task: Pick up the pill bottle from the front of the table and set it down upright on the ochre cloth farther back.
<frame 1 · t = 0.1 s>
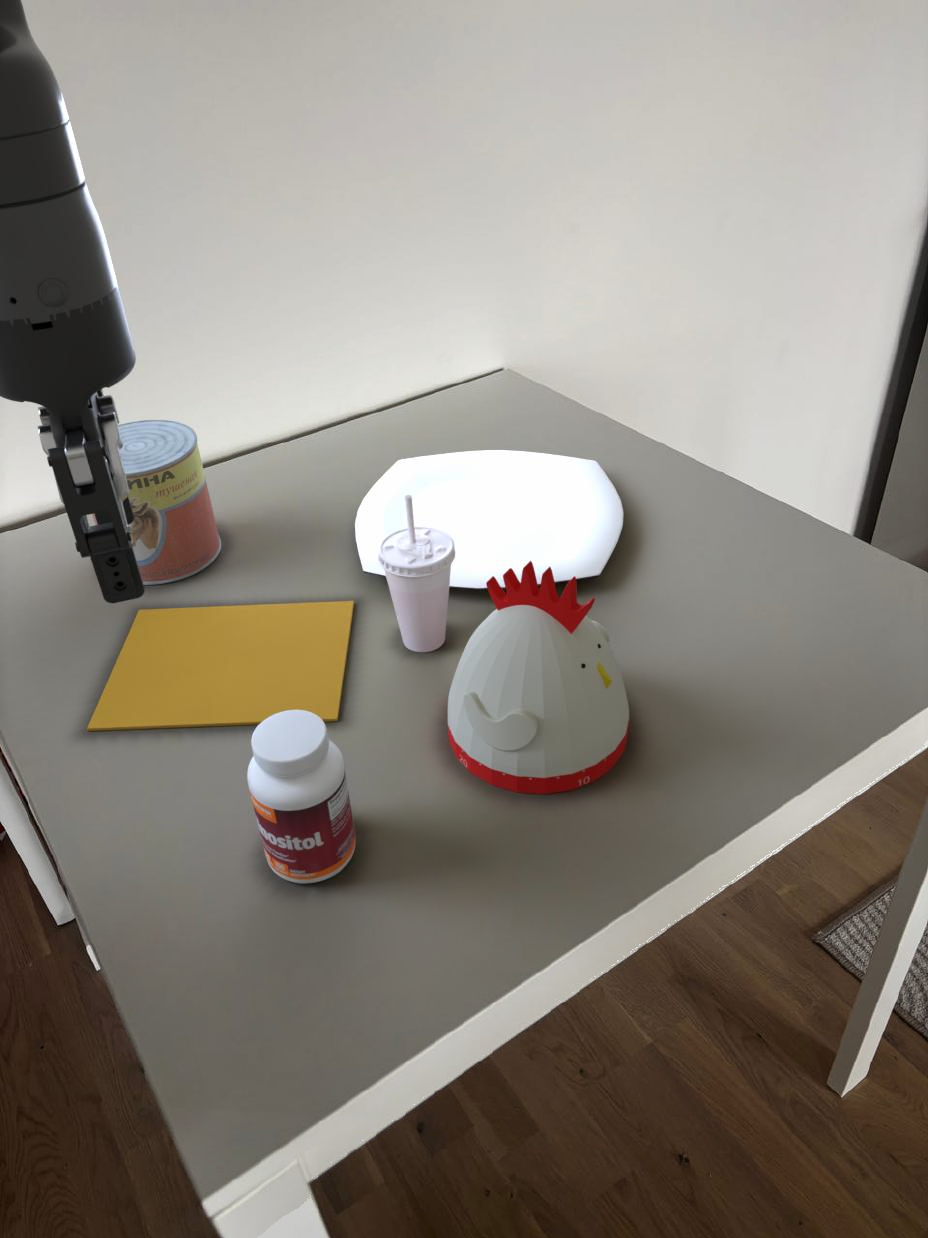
hand: (121, 559, 58), 21 cm above the table, tool pointing down, fingers open, 8 cm apart
kitchen timer: (537, 729, 75), on the table
smoothie: (424, 640, 85), on the table
plate: (489, 528, 99), on the table
cloth: (230, 662, 83), on the table
canned food: (165, 554, 98), on the table
pill bottle: (312, 852, 67), on the table
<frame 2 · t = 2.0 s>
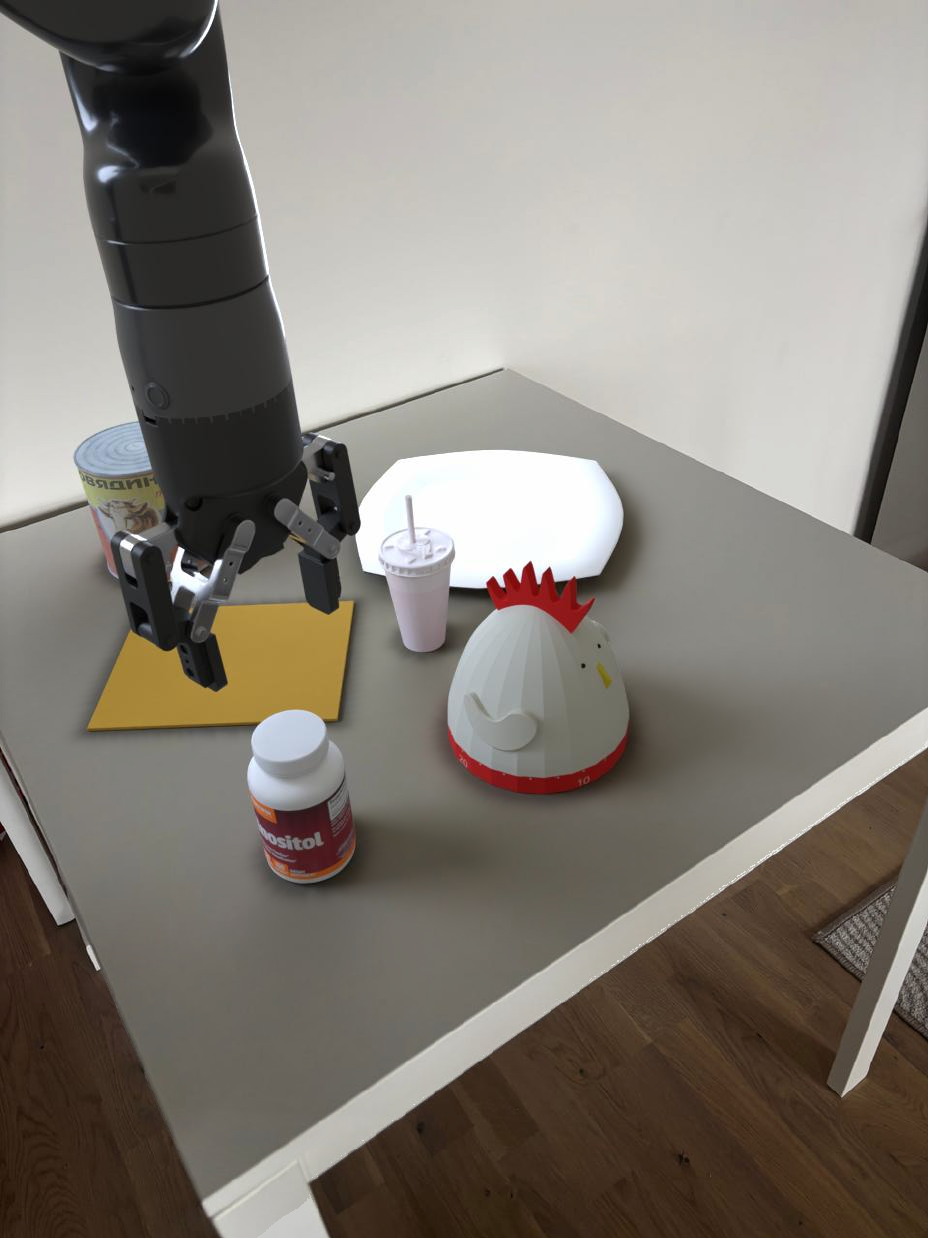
hand: (269, 644, 56), 18 cm above the table, tool pointing down, fingers open, 8 cm apart
nothing on the table moved.
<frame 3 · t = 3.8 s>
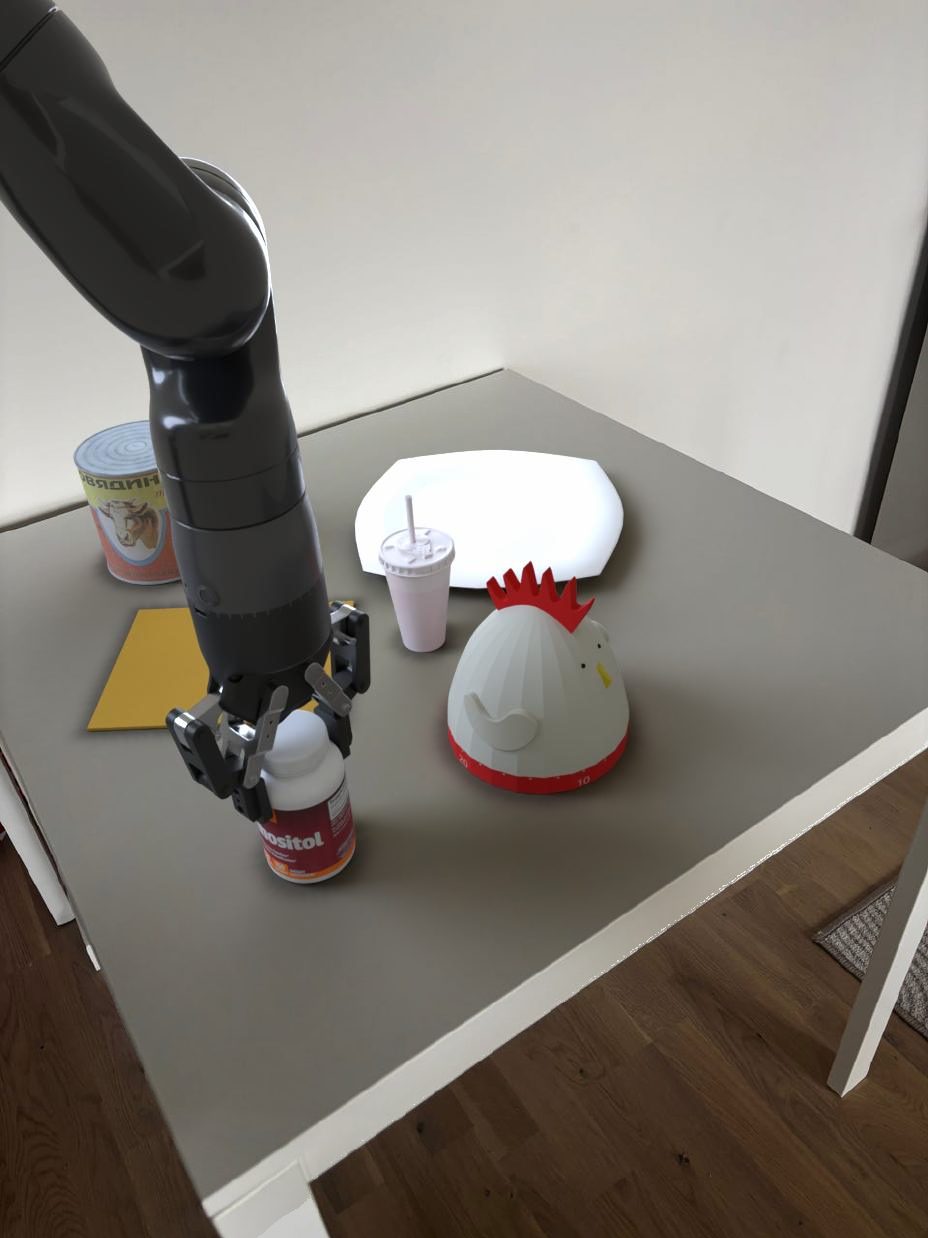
hand: (297, 783, 63), 7 cm above the table, tool pointing down, fingers closed on pill bottle, 6 cm apart
pill bottle: (312, 852, 67), on the table, touching gripper
everything else where it was.
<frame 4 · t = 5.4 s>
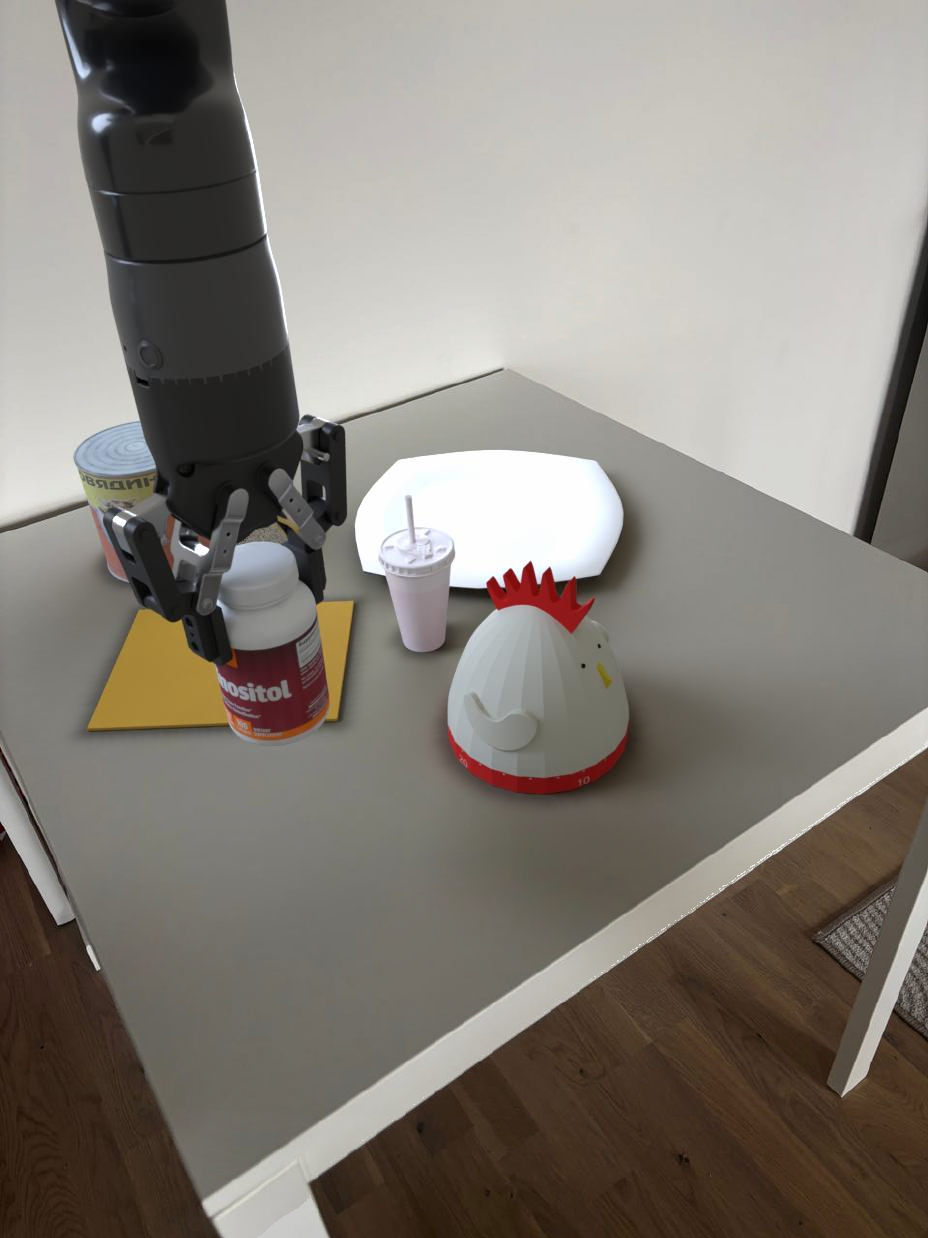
hand: (263, 627, 55), 19 cm above the table, tool pointing down, fingers closed on pill bottle, 6 cm apart
pill bottle: (281, 717, 59), point 12 cm above the table, touching gripper
everything else where it was.
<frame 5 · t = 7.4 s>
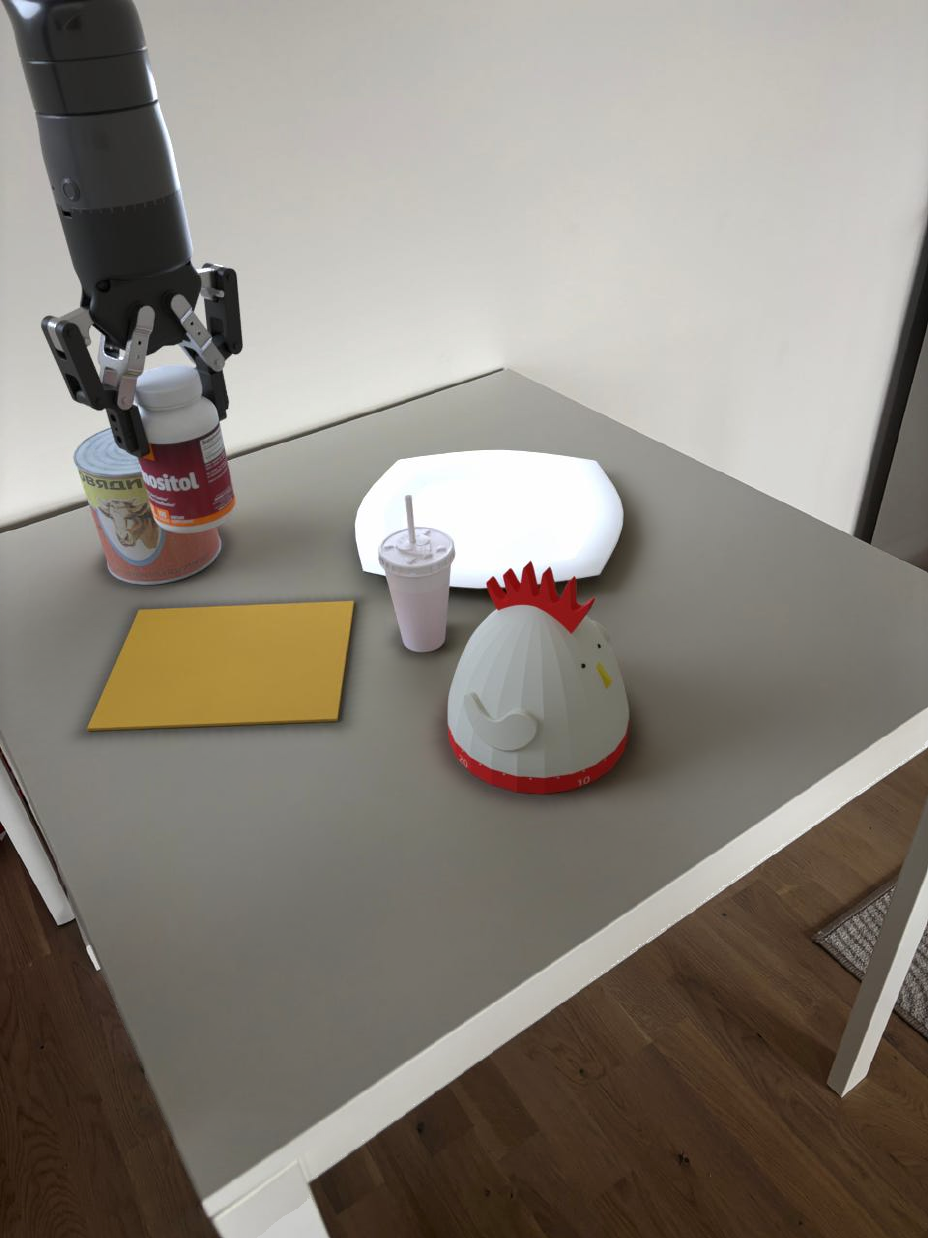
hand: (176, 434, 70), 22 cm above the table, tool pointing down, fingers closed on pill bottle, 6 cm apart
pill bottle: (197, 517, 74), point 15 cm above the table, touching gripper
everything else where it was.
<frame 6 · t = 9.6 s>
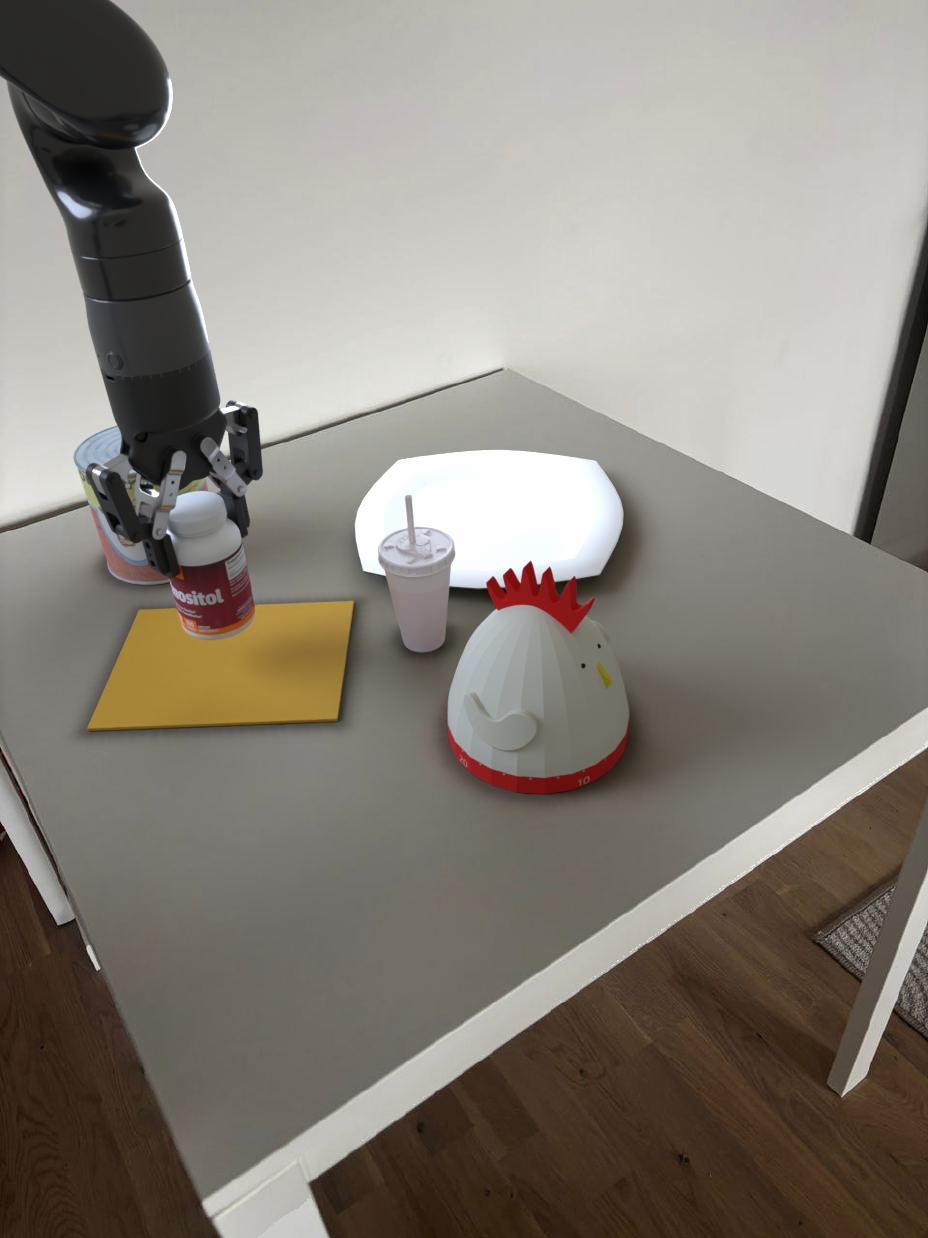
hand: (203, 553, 77), 11 cm above the table, tool pointing down, fingers closed on pill bottle, 6 cm apart
pill bottle: (220, 622, 81), point 4 cm above the table, touching gripper
everything else where it was.
when the fingers open (7 cm above the table, at t = 11.2 s): pill bottle stays where it is, resting on cloth.
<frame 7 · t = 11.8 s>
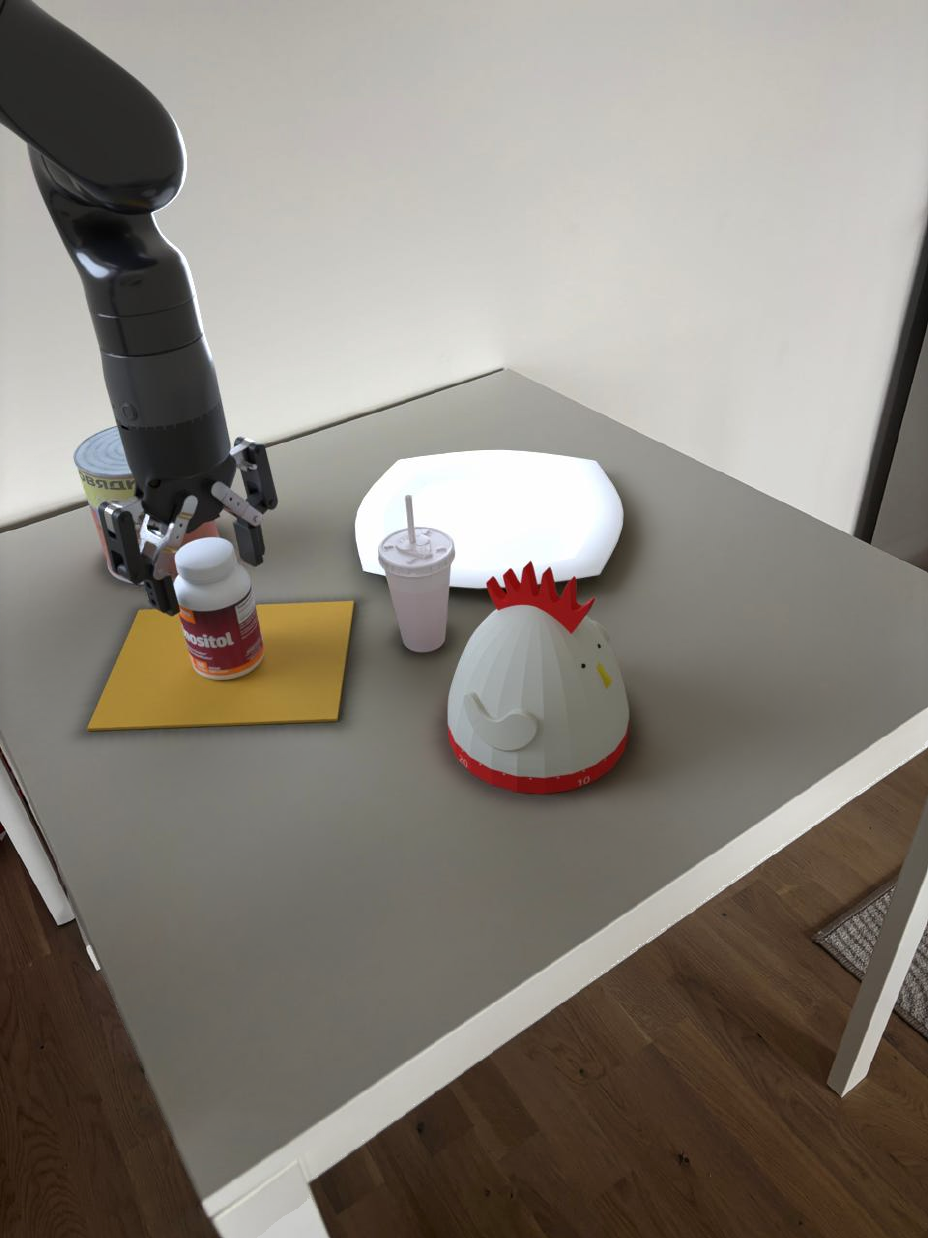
hand: (211, 586, 79), 8 cm above the table, tool pointing down, fingers open, 8 cm apart
pill bottle: (230, 661, 83), resting on cloth
everything else where it was.
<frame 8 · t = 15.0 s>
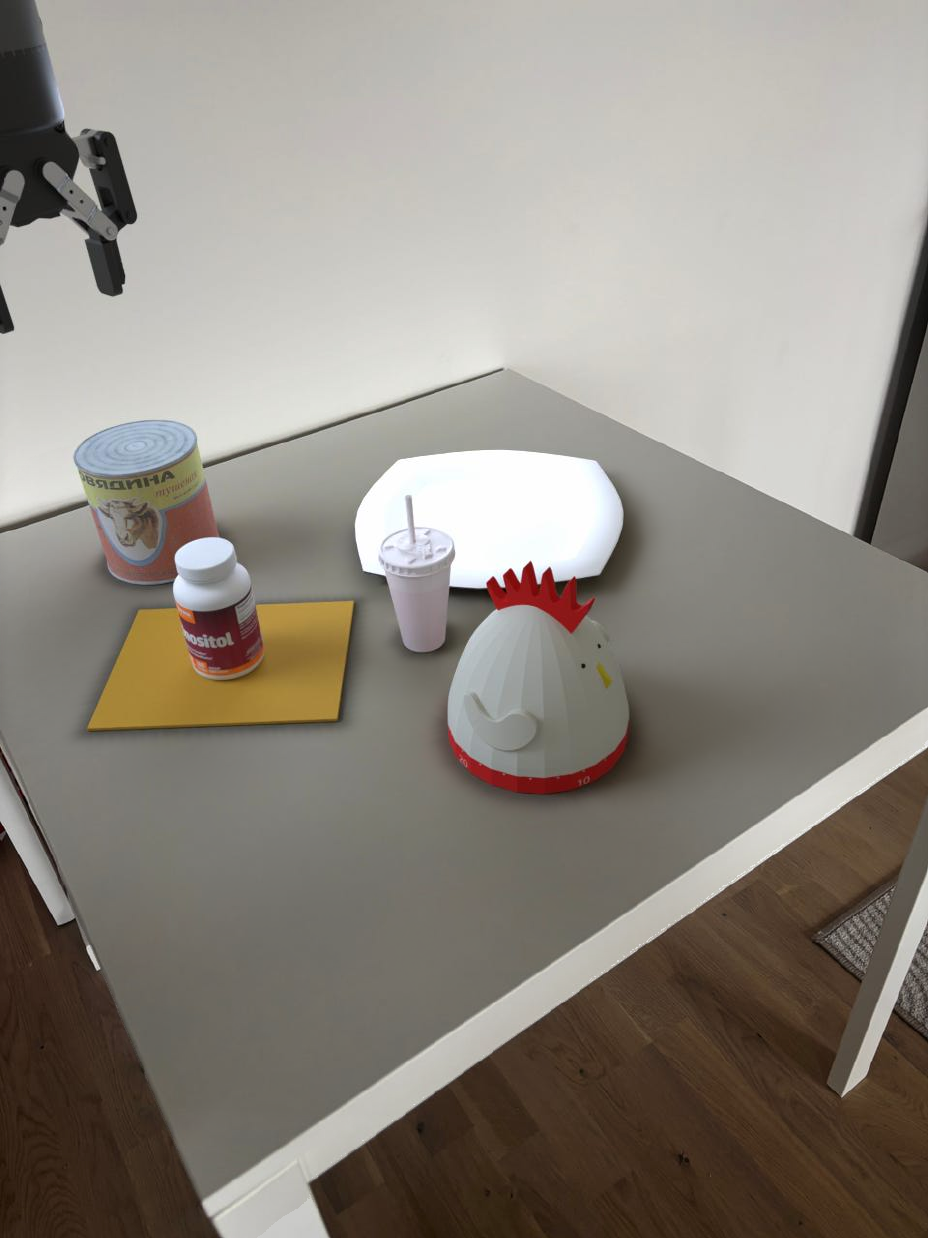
hand: (58, 311, 67), 30 cm above the table, tool pointing down, fingers open, 8 cm apart
nothing on the table moved.
at the end: pill bottle inside the target area on the cloth (0.1 cm from its centre), point 0.1 cm above the cloth's base; pill bottle tilted 0°; the gripper is holding nothing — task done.
